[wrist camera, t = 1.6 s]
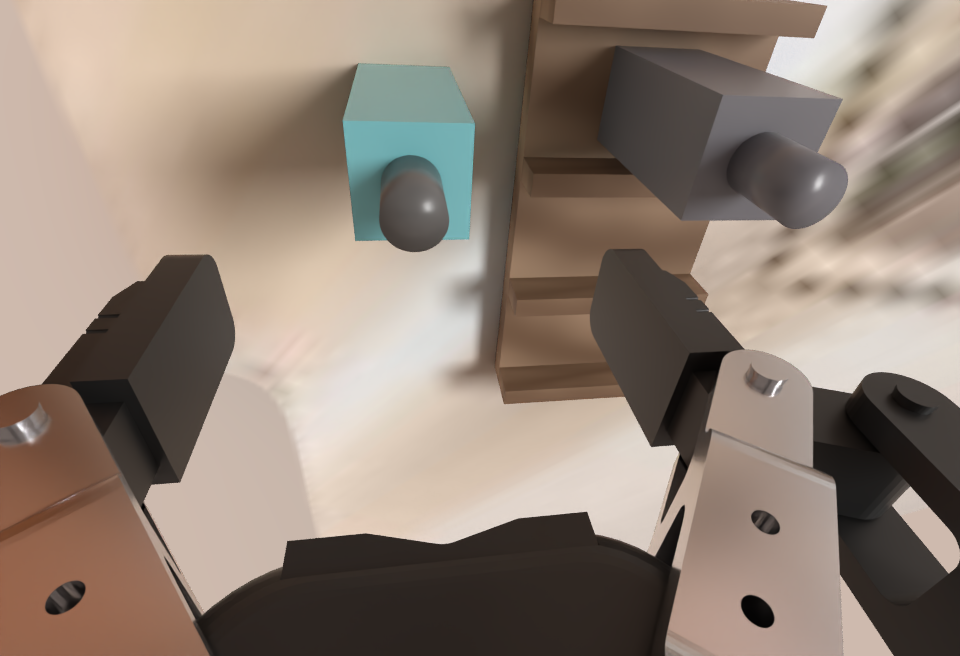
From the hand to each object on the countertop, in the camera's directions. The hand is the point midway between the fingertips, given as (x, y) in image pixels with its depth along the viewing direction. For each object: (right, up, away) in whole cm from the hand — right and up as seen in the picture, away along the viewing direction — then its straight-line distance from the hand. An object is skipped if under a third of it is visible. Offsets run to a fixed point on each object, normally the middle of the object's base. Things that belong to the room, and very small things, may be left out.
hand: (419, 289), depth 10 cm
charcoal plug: (+8, +9, +10) cm, 16 cm away
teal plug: (-2, +8, +10) cm, 13 cm away
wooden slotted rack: (+8, +5, +15) cm, 17 cm away
